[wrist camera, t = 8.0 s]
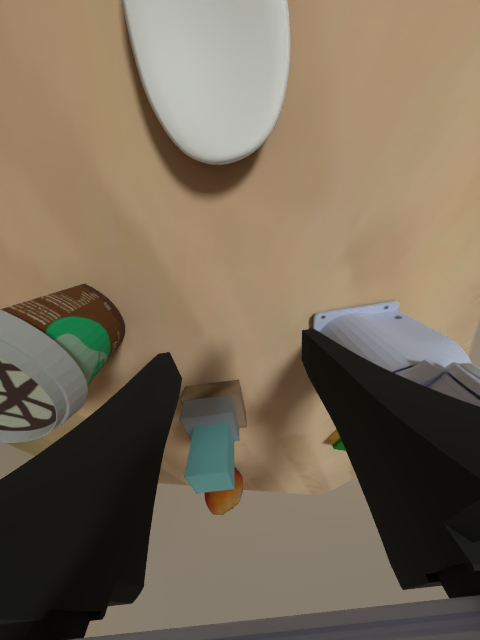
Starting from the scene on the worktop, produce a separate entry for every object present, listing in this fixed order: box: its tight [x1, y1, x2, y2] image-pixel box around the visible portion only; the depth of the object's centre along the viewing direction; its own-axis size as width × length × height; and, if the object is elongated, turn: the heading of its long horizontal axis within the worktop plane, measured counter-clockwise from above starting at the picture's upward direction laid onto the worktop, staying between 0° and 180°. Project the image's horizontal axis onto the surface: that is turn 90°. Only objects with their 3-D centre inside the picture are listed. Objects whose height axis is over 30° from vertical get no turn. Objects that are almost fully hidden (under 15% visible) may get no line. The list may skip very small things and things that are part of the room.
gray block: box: [180, 395, 239, 441], centre depth 24 cm, size 6×6×2 cm
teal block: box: [185, 423, 235, 493], centre depth 21 cm, size 4×4×5 cm
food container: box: [0, 284, 125, 443], centre depth 16 cm, size 12×6×10 cm, turn 149°
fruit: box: [205, 467, 243, 515], centre depth 37 cm, size 8×8×8 cm
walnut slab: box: [181, 380, 247, 428], centre depth 27 cm, size 8×8×3 cm
